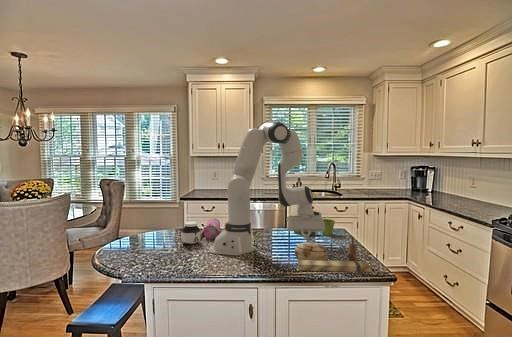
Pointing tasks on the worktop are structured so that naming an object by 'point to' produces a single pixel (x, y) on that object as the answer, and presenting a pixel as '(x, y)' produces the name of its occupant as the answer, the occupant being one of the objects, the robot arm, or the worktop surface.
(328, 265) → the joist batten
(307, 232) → the can
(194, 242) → the spread jar
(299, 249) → the trinket box
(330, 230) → the plant pot
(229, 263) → the worktop surface
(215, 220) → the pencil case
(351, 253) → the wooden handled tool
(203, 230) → the pencil case cradle
